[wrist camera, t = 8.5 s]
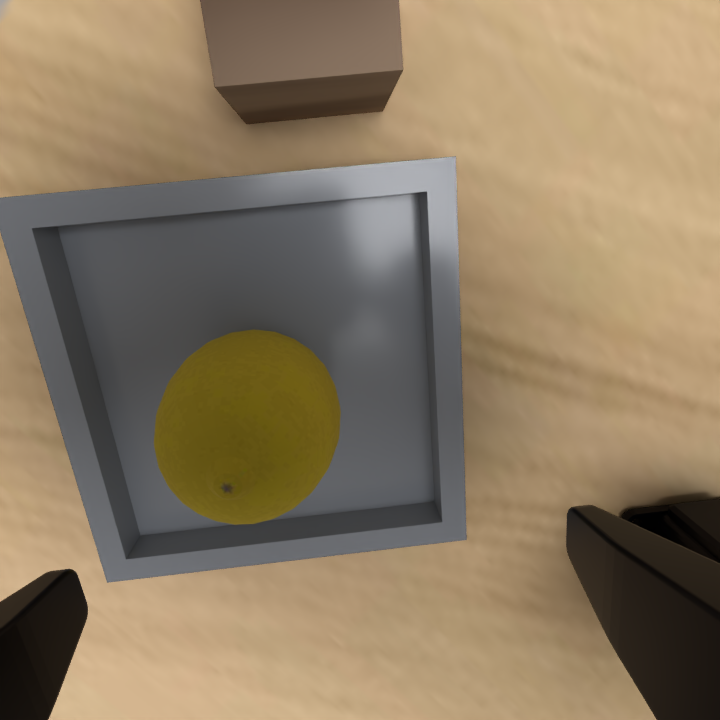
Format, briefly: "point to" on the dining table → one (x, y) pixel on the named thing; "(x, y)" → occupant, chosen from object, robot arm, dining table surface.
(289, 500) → the lemon
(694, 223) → the dining table surface
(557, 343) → the dining table surface
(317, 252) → the dish
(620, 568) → the robot arm
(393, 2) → the walnut block
